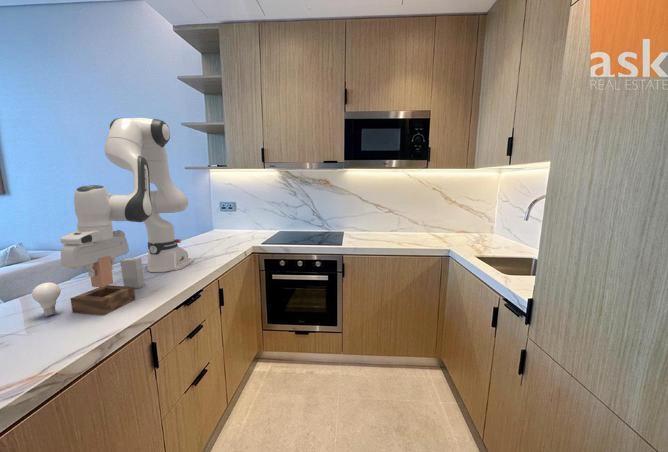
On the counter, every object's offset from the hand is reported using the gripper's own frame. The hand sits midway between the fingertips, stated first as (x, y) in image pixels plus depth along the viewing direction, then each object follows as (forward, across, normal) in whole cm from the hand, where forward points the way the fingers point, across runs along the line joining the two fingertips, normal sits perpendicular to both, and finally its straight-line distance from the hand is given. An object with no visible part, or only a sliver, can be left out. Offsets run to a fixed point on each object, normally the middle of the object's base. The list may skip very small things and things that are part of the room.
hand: (101, 273), depth 93 cm
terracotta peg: (+4, 0, 0) cm, 4 cm away
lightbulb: (+12, +8, -11) cm, 18 cm away
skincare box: (+12, -17, -5) cm, 22 cm away
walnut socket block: (+12, 0, 0) cm, 12 cm away
